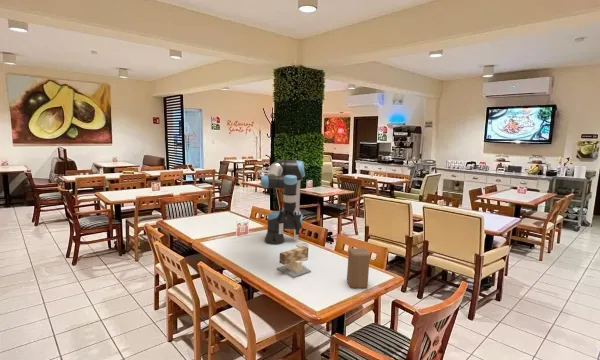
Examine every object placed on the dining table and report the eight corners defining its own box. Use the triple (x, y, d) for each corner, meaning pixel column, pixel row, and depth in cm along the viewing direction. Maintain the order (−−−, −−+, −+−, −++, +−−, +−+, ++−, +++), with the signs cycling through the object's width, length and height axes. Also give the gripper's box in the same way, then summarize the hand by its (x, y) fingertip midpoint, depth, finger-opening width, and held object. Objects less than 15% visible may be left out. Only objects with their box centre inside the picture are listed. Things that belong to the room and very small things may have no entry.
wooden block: (346, 280, 195) (348, 247, 192) (363, 280, 196) (365, 247, 193) (350, 288, 185) (352, 254, 182) (367, 288, 186) (370, 254, 183)
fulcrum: (293, 263, 216) (293, 253, 215) (311, 272, 204) (311, 261, 204) (276, 269, 206) (277, 258, 205) (294, 278, 195) (294, 266, 194)
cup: (310, 259, 225) (311, 244, 224) (295, 262, 218) (296, 247, 217) (302, 255, 232) (303, 241, 230) (288, 258, 225) (289, 244, 223)
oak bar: (303, 255, 213) (304, 246, 212) (308, 257, 210) (308, 248, 209) (279, 262, 199) (279, 253, 198) (283, 264, 196) (284, 255, 195)
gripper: (271, 198, 202) (270, 232, 205) (299, 206, 184) (297, 243, 188) (280, 197, 207) (279, 230, 211) (309, 204, 190) (307, 240, 193)
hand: (288, 236), depth 199 cm, fingers open, 13 cm apart
